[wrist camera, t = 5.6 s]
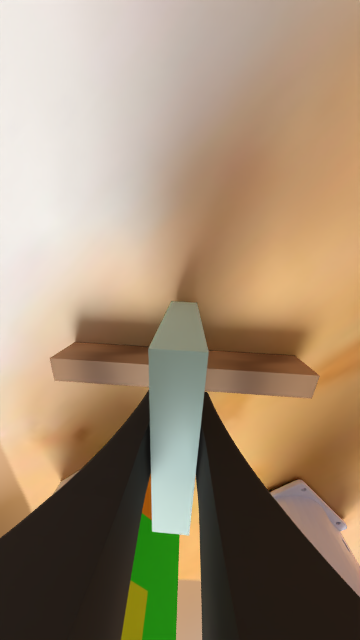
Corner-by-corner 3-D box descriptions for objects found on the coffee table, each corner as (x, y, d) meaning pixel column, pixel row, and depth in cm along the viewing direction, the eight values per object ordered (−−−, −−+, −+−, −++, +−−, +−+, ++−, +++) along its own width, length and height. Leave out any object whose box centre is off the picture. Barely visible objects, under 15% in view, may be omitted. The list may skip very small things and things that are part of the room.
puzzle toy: (61, 480, 19) (-62, 685, 10) (120, 444, 17) (34, 663, 8) (121, 523, 21) (66, 728, 12) (180, 496, 19) (172, 721, 10)
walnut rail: (294, 355, 13) (319, 375, 11) (289, 374, 14) (311, 398, 11) (74, 342, 14) (49, 358, 11) (77, 361, 14) (54, 380, 12)
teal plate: (171, 301, 12) (148, 348, 5) (197, 302, 12) (208, 352, 5) (168, 411, 15) (152, 531, 8) (188, 413, 15) (189, 535, 8)
